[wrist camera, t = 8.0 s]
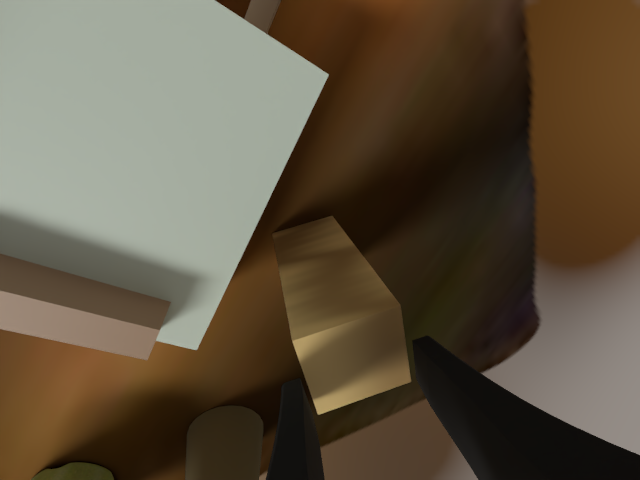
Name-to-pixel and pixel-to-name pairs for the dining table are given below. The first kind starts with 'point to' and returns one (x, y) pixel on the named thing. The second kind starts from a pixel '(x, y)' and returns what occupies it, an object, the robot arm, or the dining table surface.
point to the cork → (224, 445)
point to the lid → (136, 163)
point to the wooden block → (339, 316)
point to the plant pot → (75, 472)
